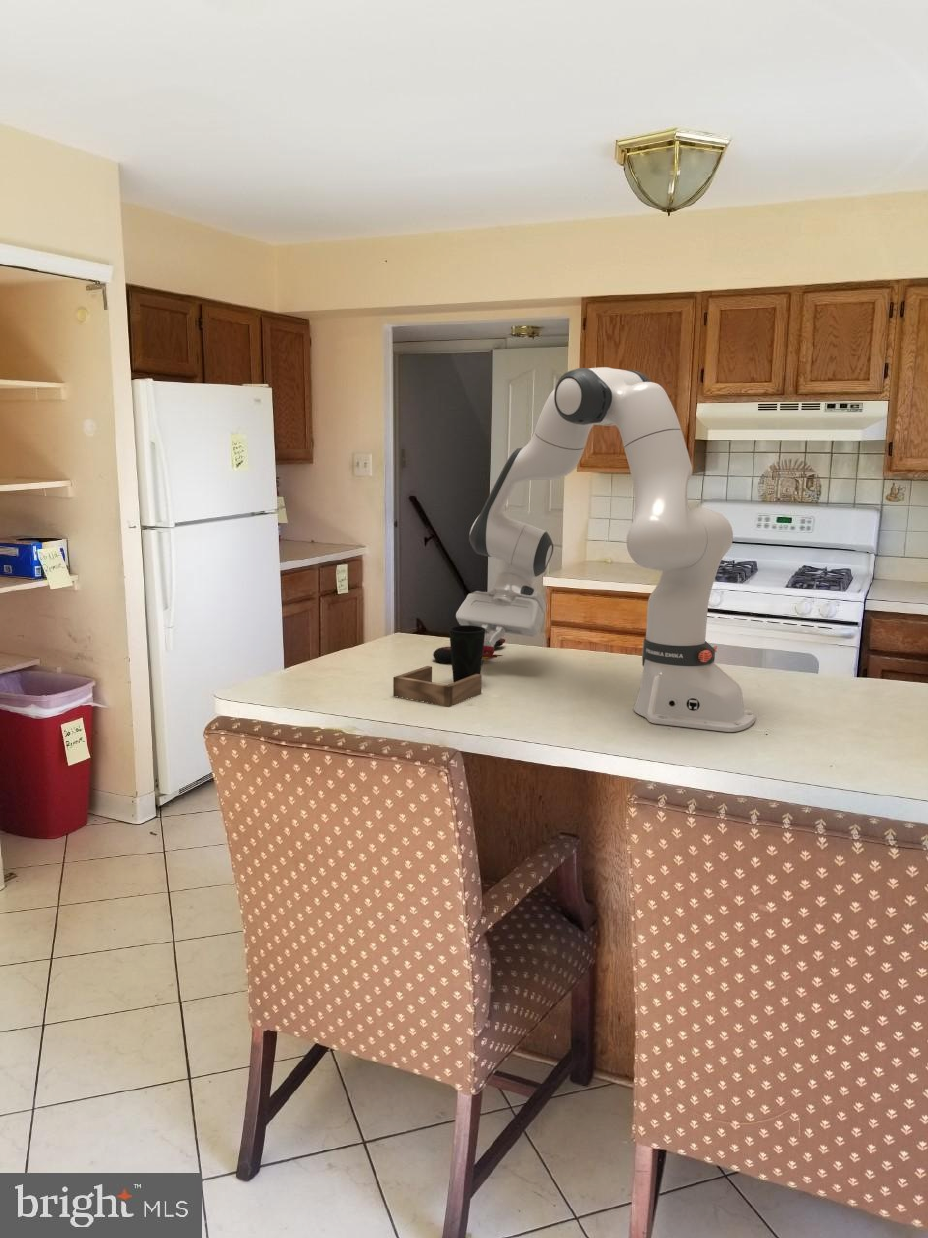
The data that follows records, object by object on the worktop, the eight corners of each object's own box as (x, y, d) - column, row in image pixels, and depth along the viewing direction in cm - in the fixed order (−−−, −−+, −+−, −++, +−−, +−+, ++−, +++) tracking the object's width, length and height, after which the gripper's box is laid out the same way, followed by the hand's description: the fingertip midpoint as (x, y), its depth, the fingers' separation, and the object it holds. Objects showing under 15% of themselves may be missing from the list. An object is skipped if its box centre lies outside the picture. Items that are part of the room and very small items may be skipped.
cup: (491, 682, 201) (492, 627, 199) (472, 690, 195) (473, 633, 193) (460, 677, 205) (461, 623, 203) (441, 684, 199) (442, 629, 197)
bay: (481, 693, 192) (481, 674, 192) (449, 707, 182) (449, 687, 182) (427, 684, 199) (427, 665, 199) (393, 696, 189) (393, 677, 189)
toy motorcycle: (431, 670, 218) (497, 664, 214) (428, 648, 218) (494, 641, 214) (458, 650, 242) (518, 645, 238) (455, 631, 242) (515, 625, 238)
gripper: (465, 581, 215) (441, 630, 209) (544, 591, 205) (522, 642, 199) (475, 598, 220) (451, 646, 214) (553, 608, 209) (531, 659, 203)
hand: (486, 644), depth 206 cm, fingers closed
